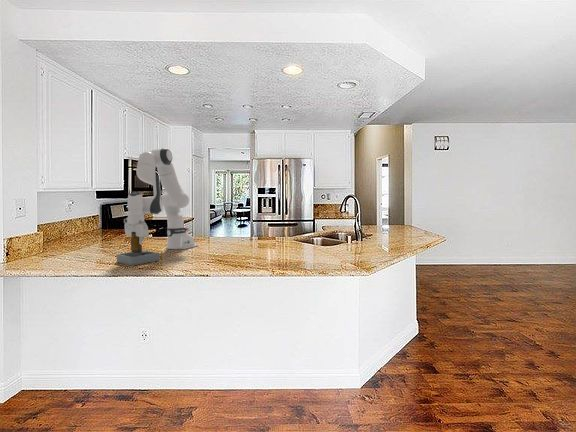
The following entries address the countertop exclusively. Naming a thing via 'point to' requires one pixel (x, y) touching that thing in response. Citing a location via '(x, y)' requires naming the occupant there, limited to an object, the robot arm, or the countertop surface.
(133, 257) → the bin
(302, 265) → the countertop surface
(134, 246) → the condiment
